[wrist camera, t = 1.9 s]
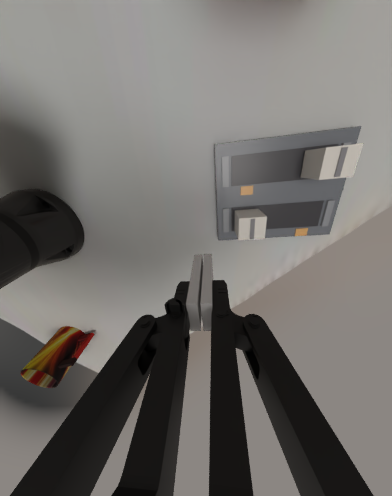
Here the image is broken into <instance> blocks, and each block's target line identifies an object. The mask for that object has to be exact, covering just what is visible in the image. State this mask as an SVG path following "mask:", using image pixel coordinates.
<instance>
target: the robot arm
mask: <svg viewBox="0 0 392 496" xmlns="http://www.w3.org/2000/svg"><path fill="white" fill-rule="evenodd" d="M83 241H84V233H83V229H82V226H81V223H80V221H79V219H78V218H77V216H76V215H75V213H74V212H73V211H72V210H71V208H70V207H69V206H68V205H67V204H65V203H64V202H63V201H62V200H60V199H59V198H58V197H56V196H54V195H52V194H50V193H48V192H45V191H42V190H38V189H27V190H20V191H15V192H12V193H9V194H7V195H6V196H4V197H2V198H0V289H1V288H2V287H4V286H6V285H7V284H9V283H10V282H12V281H14V280H15V279H17V278H19V277H20V276H22V275H24V274H25V273H27V272H29V271H30V270H32V269H34V268H35V267H38V266H42V265H46V264H50V263H54V262H58V261H62V260H65V259H67V258H69V257H71V256H72V255H74V254H75V253H77V252H78V251H79V250H80V249H81V247H82V245H83ZM165 309H166V313H167V314H166V315H164V316H161V317H158V318H154V316H152V315H144V316H142V317H141V318H139V319H138V320H137V322H136V323H135V324H134V326H133V327H132V328H131V330H130V331H129V333H128V334H127V335H126V337H125V338H124V339H123V341H122V342H121V344H120V345H119V346H118V348H117V349H116V350H115V352H114V353H113V355H112V356H111V357H110V359H109V360H108V361H107V363H106V364H105V366H104V367H103V368H102V370H101V371H100V372H99V374H98V375H97V377H96V378H95V379H94V381H93V382H92V383H91V385H90V386H89V388H88V389H87V391H86V392H85V393H84V394H83V396H82V397H81V399H80V400H79V401H78V403H77V404H76V405H75V407H74V408H73V410H72V411H71V412H70V414H69V415H68V417H67V418H66V419H65V421H64V422H63V423H62V425H61V426H60V428H59V429H58V430H57V432H56V433H55V434H54V436H53V437H52V438H51V440H50V441H49V443H48V444H47V445H46V447H45V448H44V449H43V451H42V452H41V454H40V455H39V456H38V458H37V459H36V461H35V462H34V463H33V465H32V466H31V467H30V469H29V470H28V471H27V473H26V474H25V476H24V477H23V478H22V480H21V481H20V482H19V484H18V485H17V487H16V488H15V489H14V491H13V492H12V494H11V495H10V496H90V495H91V492H92V491H93V489H94V487H95V484H96V482H97V480H98V478H99V476H100V474H101V472H102V470H103V468H104V466H105V464H106V462H107V460H108V458H109V456H110V454H111V452H112V450H113V447H114V446H115V444H116V441H117V439H118V437H119V435H120V433H121V431H122V429H123V427H124V425H125V423H126V421H127V419H128V417H129V415H130V413H131V411H132V409H133V407H134V405H135V403H136V400H137V398H138V396H139V394H140V392H141V390H142V388H143V386H144V384H145V382H146V380H147V378H148V376H149V374H150V376H149V380H148V383H147V387H146V390H145V394H144V398H143V401H142V405H141V408H140V412H139V416H138V419H137V423H136V427H135V430H134V434H133V437H132V441H131V445H130V448H129V452H128V455H127V459H126V462H125V466H124V470H123V473H122V476H121V479H120V482H119V484H118V487H117V488H116V490H115V491H114V493H113V494H112V496H173V492H174V483H175V473H176V464H177V454H178V445H179V435H180V426H181V417H182V407H183V398H184V388H185V379H186V369H187V360H188V351H189V341H190V335H189V330H191V331H201V317H202V321H203V330H204V331H211V387H210V388H211V390H210V466H209V470H210V471H209V472H210V473H209V475H210V476H209V496H253V489H252V481H251V473H250V465H249V456H248V448H247V439H246V432H245V423H244V414H243V407H242V398H241V390H240V381H239V373H238V365H237V357H236V349H235V348H238V349H241V350H243V353H244V355H245V358H246V360H247V363H248V365H249V368H250V370H251V373H252V375H253V378H254V380H255V383H256V385H257V387H258V390H259V393H260V395H261V398H262V400H263V403H264V405H265V408H266V410H267V413H268V415H269V418H270V420H271V423H272V425H273V428H274V430H275V433H276V435H277V438H278V440H279V443H280V445H281V448H282V450H283V453H284V455H285V458H286V460H287V463H288V465H289V468H290V470H291V473H292V475H293V478H294V480H295V483H296V485H297V488H298V490H299V493H300V495H301V496H373V494H372V493H371V491H370V489H369V488H368V486H367V485H366V483H365V481H364V480H363V478H362V477H361V475H360V473H359V472H358V470H357V468H356V467H355V465H354V464H353V462H352V461H351V459H350V457H349V456H348V454H347V452H346V451H345V449H344V448H343V446H342V444H341V443H340V441H339V440H338V438H337V437H336V435H335V433H334V432H333V430H332V428H331V427H330V425H329V424H328V422H327V420H326V419H325V417H324V416H323V414H322V412H321V411H320V409H319V408H318V406H317V405H316V403H315V401H314V399H313V398H312V396H311V395H310V393H309V391H308V390H307V388H306V387H305V385H304V383H303V382H302V380H301V379H300V377H299V376H298V374H297V372H296V371H295V369H294V367H293V366H292V364H291V363H290V361H289V359H288V358H287V356H286V355H285V353H284V351H283V350H282V348H281V347H280V345H279V343H278V342H277V340H276V339H275V337H274V336H273V334H272V332H271V331H270V329H269V327H268V326H267V324H266V323H265V321H264V320H263V319H262V318H261V317H260V316H258V315H255V314H249V315H246V316H245V317H242V316H238V315H236V314H234V313H233V312H232V311H231V309H230V305H229V298H228V290H227V284H226V283H225V281H224V280H213V270H212V254H204V262H203V260H202V255H195V256H194V261H193V267H192V272H191V278H190V281H187V282H180V283H179V284H178V286H177V289H176V293H175V297H174V298H172V299H170V300H168V301H167V302H166V304H165Z"/></svg>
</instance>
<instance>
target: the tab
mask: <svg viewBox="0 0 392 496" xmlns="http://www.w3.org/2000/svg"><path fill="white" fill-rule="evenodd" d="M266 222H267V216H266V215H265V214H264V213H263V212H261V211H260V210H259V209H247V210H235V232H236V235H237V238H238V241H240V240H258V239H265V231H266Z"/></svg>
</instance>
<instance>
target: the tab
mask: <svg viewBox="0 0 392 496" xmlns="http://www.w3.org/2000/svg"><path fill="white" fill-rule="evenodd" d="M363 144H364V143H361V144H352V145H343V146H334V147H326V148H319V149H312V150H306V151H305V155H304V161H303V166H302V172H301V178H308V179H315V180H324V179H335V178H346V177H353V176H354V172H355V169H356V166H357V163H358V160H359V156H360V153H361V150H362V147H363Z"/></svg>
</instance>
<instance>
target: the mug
mask: <svg viewBox="0 0 392 496" xmlns="http://www.w3.org/2000/svg"><path fill="white" fill-rule="evenodd" d="M93 336H94V333H89V334H85V333H84V332H82V331H81V330H79V329H77V328H74V327H69V326H65V327H62V328H60V329H59V330H58V331H57V333H56V334H55V335H54V336H53V337H52V338H51V339H50V340H49V341H48V342H47V343H46V344H45V346H44V347H43V348H42V349H41V350H40V351H39V352H38V353H37V355H35V356H34V358H33V359H32V360H31V361H30V362H29V363H28V364H27V365H26V366H25V367H24V368H23V370H22V371H21V375H22V377H23V378H24V379H26V380H27V381H29V382H31V383H33V384H35V385H38V386H41V387H46V388H53V387H56V386H58V384H59V383H60V381H61V380H62V378H63V377H64V376H65V374H66V373H67V371H68V370H69V368H70V367H71V366H73V365H74V363H75V362H76V361H77V359H78V358H79V356H80V355H81V353H82V352H83V350H84V349H85V347H86V346H87V345H88V343H89V342H90V340H91V339H92V337H93Z"/></svg>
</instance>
